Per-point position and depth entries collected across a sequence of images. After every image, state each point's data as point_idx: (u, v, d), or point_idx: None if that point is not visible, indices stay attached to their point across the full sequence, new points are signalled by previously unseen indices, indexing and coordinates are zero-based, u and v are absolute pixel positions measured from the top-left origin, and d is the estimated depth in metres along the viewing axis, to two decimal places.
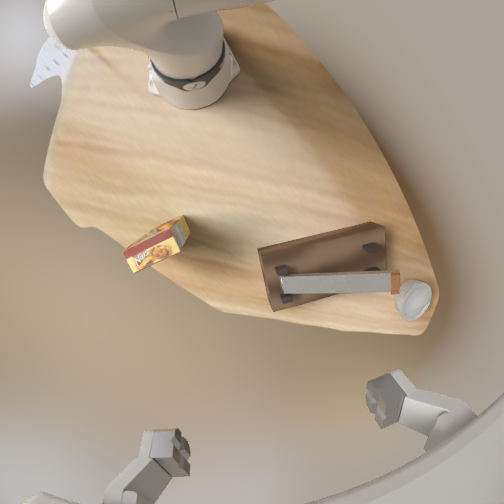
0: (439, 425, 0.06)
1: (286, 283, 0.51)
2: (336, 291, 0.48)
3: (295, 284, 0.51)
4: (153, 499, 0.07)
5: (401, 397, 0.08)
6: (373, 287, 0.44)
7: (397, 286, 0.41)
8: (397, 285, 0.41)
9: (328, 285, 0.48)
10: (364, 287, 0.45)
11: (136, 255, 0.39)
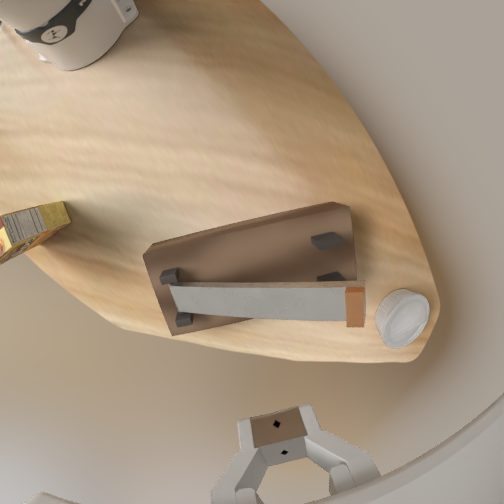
0: (331, 477, 0.06)
1: (178, 296, 0.32)
2: (251, 315, 0.28)
3: (190, 299, 0.31)
4: None
5: (300, 436, 0.08)
6: (314, 312, 0.25)
7: (359, 313, 0.22)
8: (358, 312, 0.22)
9: (236, 303, 0.29)
10: (298, 311, 0.26)
11: None
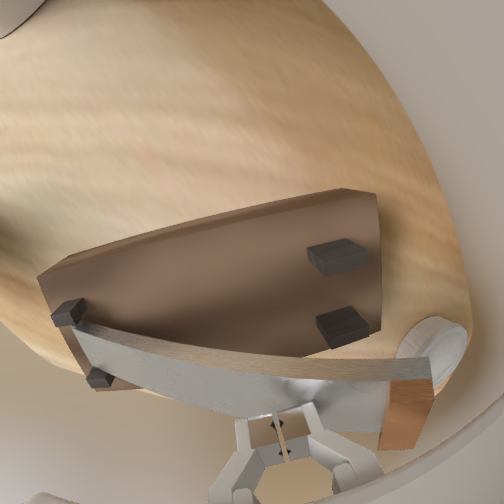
0: (334, 476, 0.06)
1: (84, 345, 0.17)
2: (186, 399, 0.13)
3: (97, 352, 0.16)
4: None
5: (303, 435, 0.08)
6: None
7: (410, 432, 0.07)
8: (410, 431, 0.07)
9: (158, 377, 0.13)
10: (274, 411, 0.11)
11: None
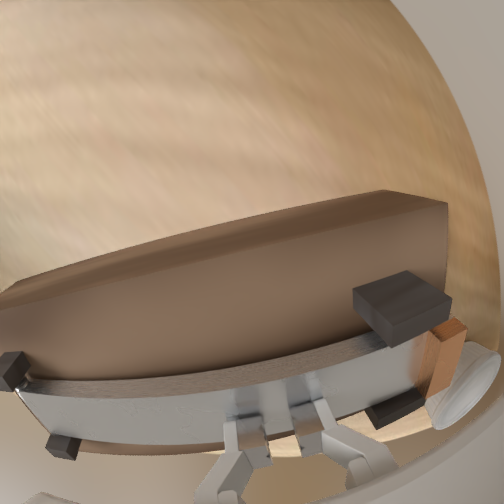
0: (350, 470, 0.06)
1: (39, 409, 0.09)
2: (205, 439, 0.10)
3: (60, 416, 0.09)
4: None
5: (317, 431, 0.08)
6: (358, 399, 0.10)
7: (450, 368, 0.09)
8: (450, 367, 0.09)
9: (165, 425, 0.09)
10: None
11: None
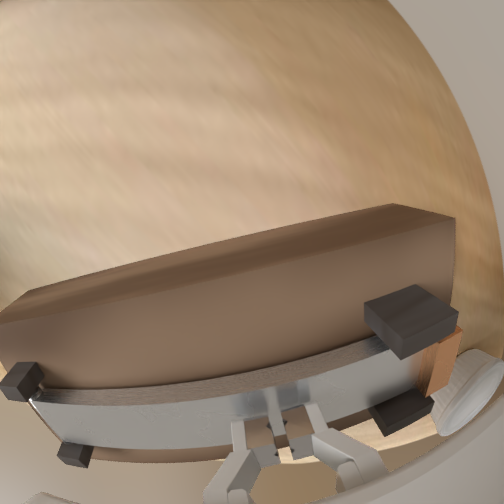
0: (339, 474, 0.06)
1: (53, 418, 0.10)
2: (221, 441, 0.10)
3: (76, 425, 0.10)
4: None
5: (307, 434, 0.08)
6: (363, 398, 0.10)
7: (448, 368, 0.10)
8: (448, 366, 0.09)
9: (182, 429, 0.10)
10: (331, 408, 0.10)
11: None
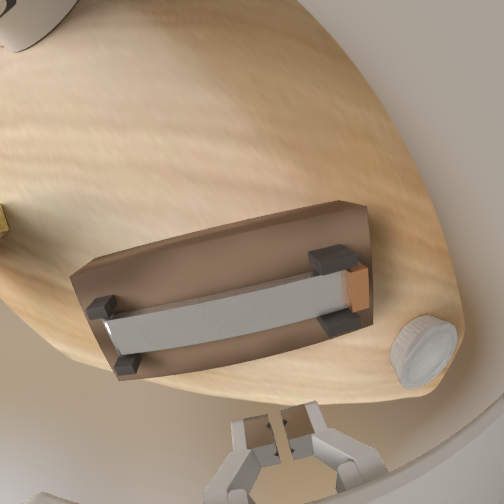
0: (339, 474, 0.06)
1: (119, 333, 0.21)
2: (230, 333, 0.21)
3: (137, 333, 0.21)
4: None
5: (307, 434, 0.08)
6: (311, 308, 0.22)
7: (364, 293, 0.21)
8: (364, 292, 0.21)
9: (208, 323, 0.21)
10: (292, 311, 0.21)
11: None
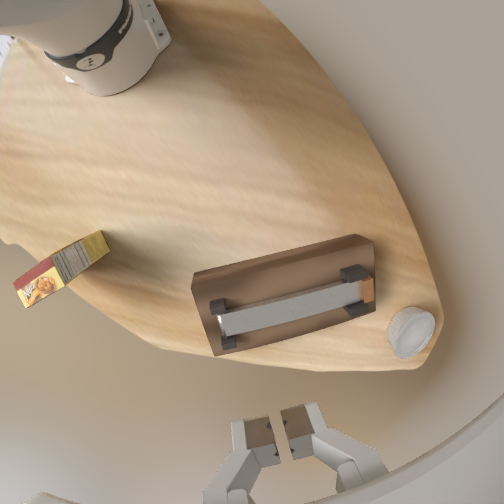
0: (339, 474, 0.06)
1: (228, 321, 0.37)
2: (297, 317, 0.37)
3: (241, 321, 0.37)
4: None
5: (307, 434, 0.08)
6: (342, 300, 0.38)
7: (371, 292, 0.37)
8: (370, 291, 0.37)
9: (286, 311, 0.37)
10: (331, 303, 0.37)
11: (24, 287, 0.24)
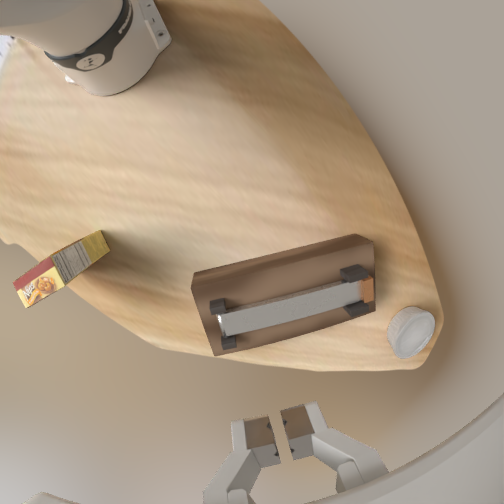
0: (339, 474, 0.06)
1: (228, 321, 0.37)
2: (297, 317, 0.37)
3: (241, 320, 0.37)
4: None
5: (307, 434, 0.08)
6: (341, 300, 0.38)
7: (371, 292, 0.37)
8: (370, 291, 0.37)
9: (286, 311, 0.37)
10: (331, 303, 0.37)
11: (24, 287, 0.24)
